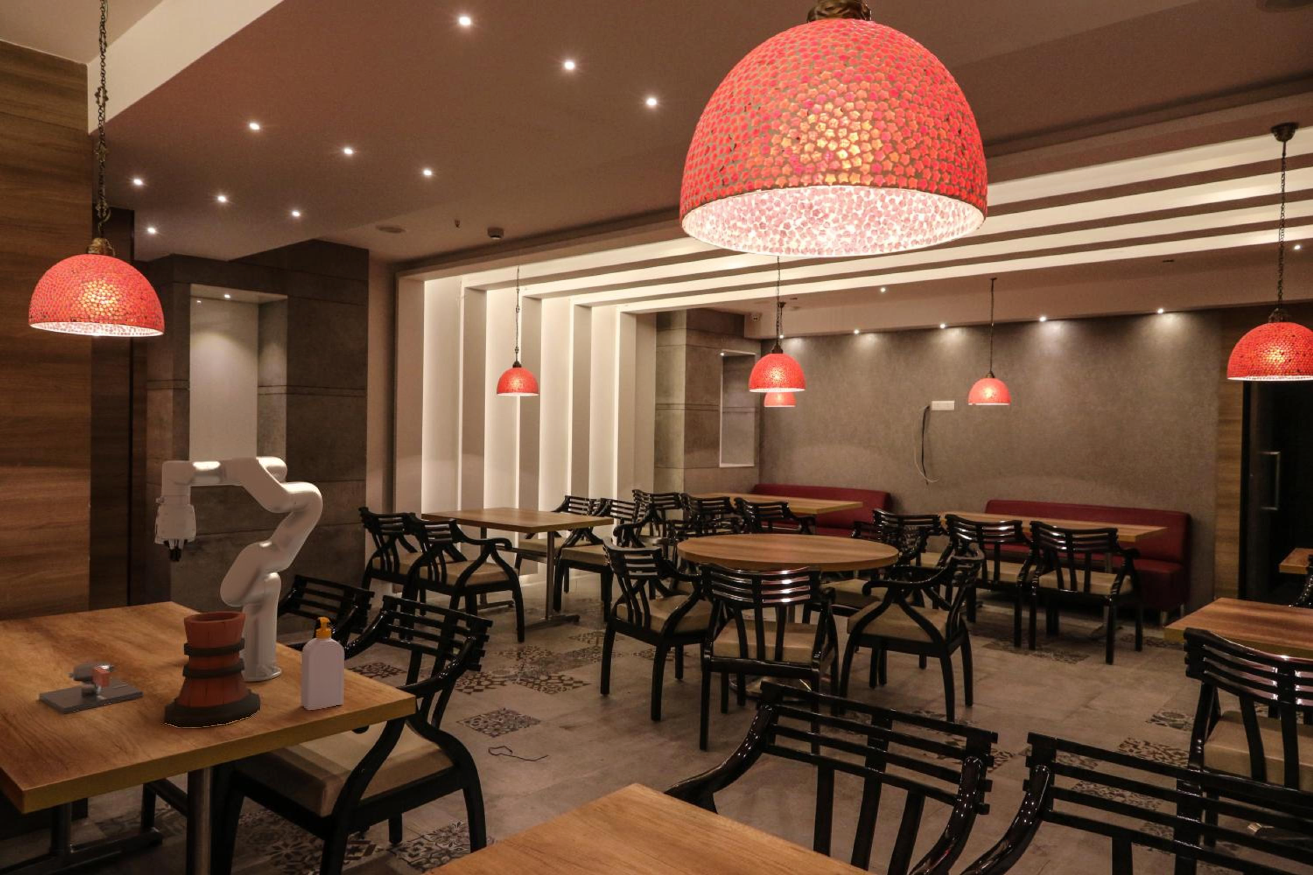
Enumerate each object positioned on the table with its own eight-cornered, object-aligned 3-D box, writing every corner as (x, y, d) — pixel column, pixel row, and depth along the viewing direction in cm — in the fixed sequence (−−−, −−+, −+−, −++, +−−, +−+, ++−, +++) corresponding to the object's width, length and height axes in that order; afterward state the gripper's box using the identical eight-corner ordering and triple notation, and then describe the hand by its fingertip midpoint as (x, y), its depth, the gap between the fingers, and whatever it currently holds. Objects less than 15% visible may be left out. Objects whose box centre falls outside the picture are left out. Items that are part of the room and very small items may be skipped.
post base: (142, 696, 217) (143, 677, 217) (63, 714, 202) (63, 693, 202) (116, 683, 228) (116, 664, 228) (39, 699, 213) (39, 679, 213)
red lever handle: (64, 677, 214) (64, 664, 214) (109, 670, 222) (109, 657, 222) (82, 691, 203) (82, 677, 203) (128, 682, 211) (128, 668, 211)
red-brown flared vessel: (149, 731, 192) (151, 628, 192) (181, 699, 216) (183, 607, 216) (251, 724, 198) (253, 624, 198) (270, 693, 222) (272, 604, 222)
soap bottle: (334, 698, 218) (336, 613, 219) (343, 705, 213) (345, 618, 213) (299, 704, 213) (301, 617, 213) (307, 711, 207) (309, 622, 207)
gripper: (152, 503, 237) (151, 565, 237) (207, 500, 248) (205, 560, 248) (143, 501, 242) (142, 562, 242) (197, 499, 253) (196, 557, 253)
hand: (174, 561), depth 245 cm, fingers closed
